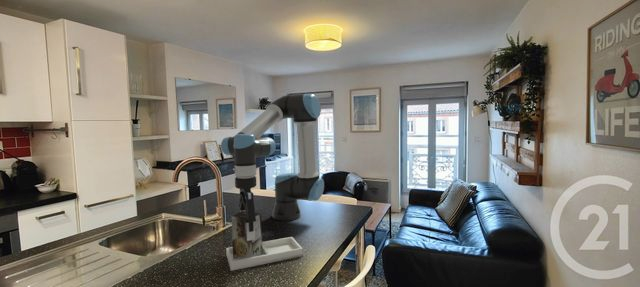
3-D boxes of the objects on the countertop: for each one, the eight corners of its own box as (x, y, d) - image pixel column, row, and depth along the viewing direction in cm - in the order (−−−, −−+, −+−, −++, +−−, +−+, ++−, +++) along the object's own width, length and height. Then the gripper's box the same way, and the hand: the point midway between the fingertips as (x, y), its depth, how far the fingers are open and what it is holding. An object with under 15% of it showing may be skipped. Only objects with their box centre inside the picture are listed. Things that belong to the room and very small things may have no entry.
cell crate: (226, 255, 112) (226, 248, 112) (292, 243, 123) (292, 236, 122) (230, 270, 100) (230, 262, 100) (302, 256, 111) (302, 248, 111)
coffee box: (262, 255, 110) (262, 213, 109) (252, 262, 104) (251, 218, 103) (243, 251, 114) (242, 210, 113) (232, 258, 108) (230, 215, 107)
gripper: (230, 171, 117) (232, 223, 118) (240, 184, 94) (242, 248, 96) (249, 170, 120) (251, 220, 121) (263, 181, 97) (265, 244, 99)
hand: (247, 233), depth 109 cm, fingers open, 13 cm apart
